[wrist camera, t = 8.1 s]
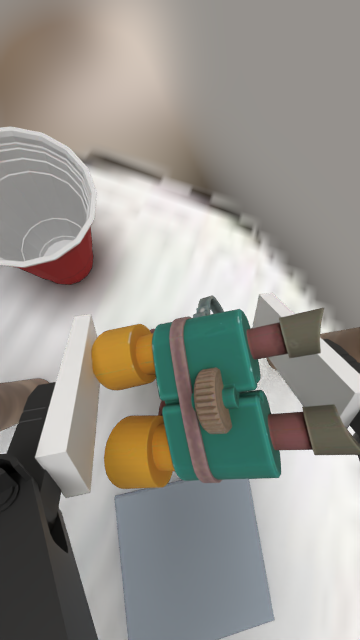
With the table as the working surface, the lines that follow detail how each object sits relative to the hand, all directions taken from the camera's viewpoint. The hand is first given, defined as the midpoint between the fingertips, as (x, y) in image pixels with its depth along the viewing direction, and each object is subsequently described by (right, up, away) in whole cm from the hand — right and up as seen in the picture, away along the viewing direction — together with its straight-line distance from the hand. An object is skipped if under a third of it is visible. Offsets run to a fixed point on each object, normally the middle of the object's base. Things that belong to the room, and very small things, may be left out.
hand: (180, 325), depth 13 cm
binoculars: (0, -4, +3) cm, 5 cm away
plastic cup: (-13, +7, +15) cm, 21 cm away
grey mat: (+1, -24, +11) cm, 26 cm away
